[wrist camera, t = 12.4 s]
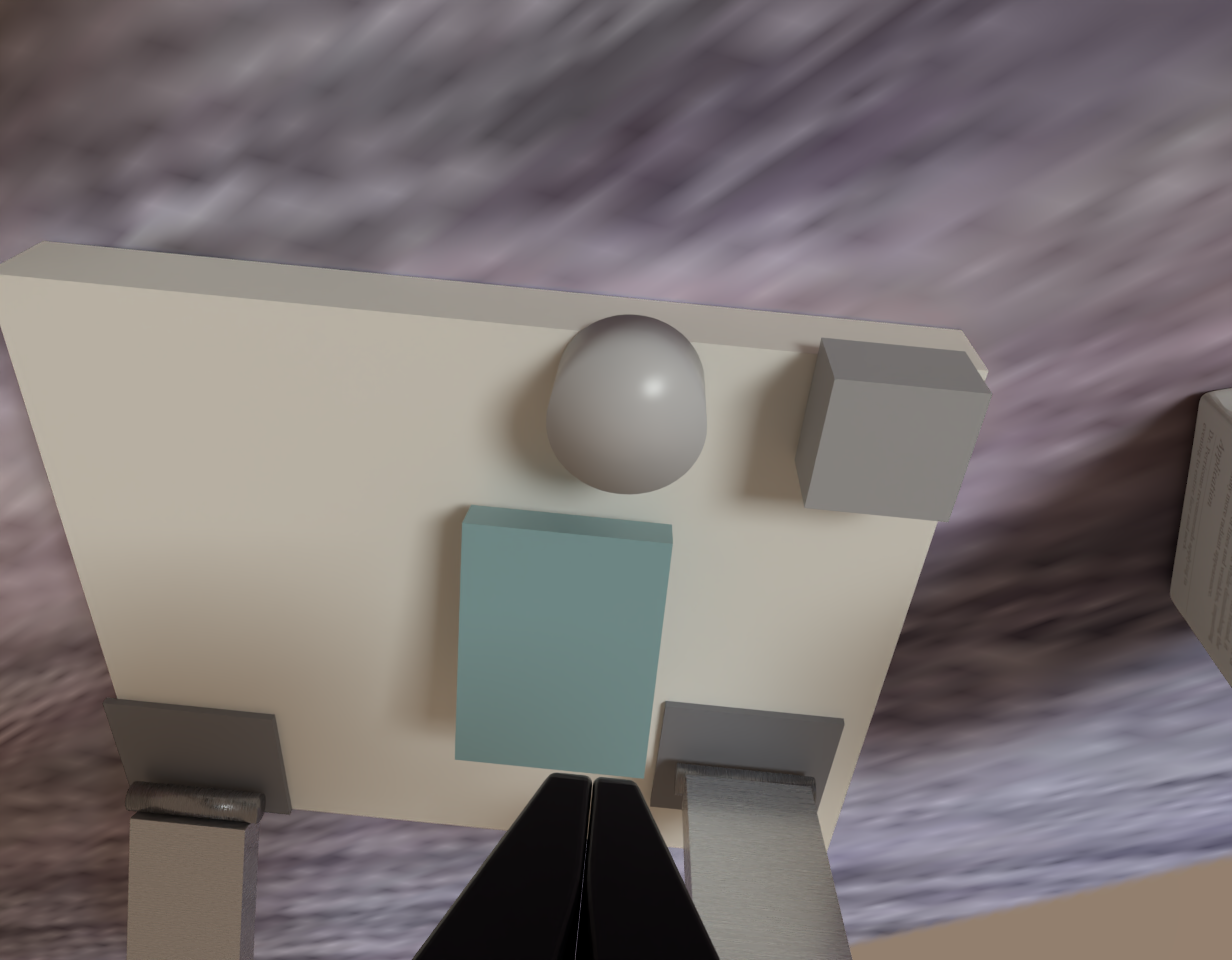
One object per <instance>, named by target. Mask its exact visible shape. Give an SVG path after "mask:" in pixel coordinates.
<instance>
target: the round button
mask: <svg viewBox="0 0 1232 960" xmlns="http://www.w3.org/2000/svg"><path fill="white" fill-rule="evenodd" d="M546 430H547V435H548V440H549V442H550V445H551V448H552V450H553V452H554V454H555V456H556V457H557V459H558V460H559V462H560V463H561V464H562V465H563V466H564V467H565V469H566V470H567V471H569V472H570V473H571V474H572V475H573V476H574V477H576V478H577V479H579V480H580V481H582V482H583V483H585V484H587V485H589V486H591V487H594V488H596V489H599V490H602V491H605V492H609V493H615V494H627V495H631V494H642V493H648V492H652V491H655V490H659V489H661V488H663V487H666V486H668V485H670V484H671V483H673V482H675V481H677V480H678V479H679V478H681V477H682V476H683V475H684V474H685V473H686V472H687V471H688V470H689V469H690V468H691V467H692V466H693V465H694V463H695V462H696V461H697V459H698V457H699V455H700V454H701V452H702V449H703V446H704V444H705V439H706V435H707V414H706V395H705V378H704V371H703V366H702V363H701V360H700V358H699V355H698V354H697V352H696V350H695V348H694V347H693V346H692V344H691V343H690V342H689V340H688V339H687V338H686V337H685V336H684V335H683V334H682V333H680V332H679V331H678V330H676V329H675V328H674V327H672V326H670V325H669V324H667V323H665V322H663V321H660V320H658V319H655V318H651V317H648V316H642V315H632V314H625V315H616V316H611V317H607V318H604V319H601V320H598V321H596V322H594V323H592V324H590V325H589V326H587V327H586V328H584V329H583V330H581V331H580V332H579V333H578V334H577V335H576V336H575V337H574V338H573V339H572V340H571V342H570V343H569V344H568V346H567V347H566V349H565V350H564V352H563V355H562V357H561V359H560V363H559V366H558V370H557V374H556V378H555V382H554V385H553V389H552V393H551V397H550V401H549V405H548V409H547V415H546Z"/></svg>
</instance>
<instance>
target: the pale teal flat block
mask: <svg viewBox="0 0 1232 960" xmlns="http://www.w3.org/2000/svg"><path fill="white" fill-rule="evenodd" d="M672 547H673V535H672V525H671V524H661V523H651V522H640V521H630V520H620V519H610V518H600V517H590V516H580V515H570V514H559V513H549V512H539V511H529V510H519V509H509V508H499V507H489V506H478V505H471V506H470V508H469V510H468V512H467V514H466V516H465V518H464V520H463V522H462V543H461V575H460V606H459V638H458V670H457V702H456V734H455V760H463V761H473V762H483V763H493V764H503V765H513V766H522V767H532V768H542V769H552V770H562V771H572V772H582V773H592V774H602V775H612V776H622V777H632V778H642V779H644V773H645V765H646V757H647V749H648V741H649V733H650V725H651V717H652V709H653V701H654V693H655V684H656V676H657V668H658V660H659V652H660V644H661V636H662V628H663V620H664V612H665V604H666V595H667V587H668V579H669V571H670V563H671V555H672Z"/></svg>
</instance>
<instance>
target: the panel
mask: <svg viewBox="0 0 1232 960" xmlns="http://www.w3.org/2000/svg"><path fill="white" fill-rule="evenodd" d="M625 314H632V315H642V316H648V317H651V318H655V319H658V320H660V321H663V322H665V323H667V324H669V325H670V326H672V327H674V328H675V329H676V330H678V331H679V332H680V333H682V334H683V335H684V336H685V337H686V338H687V339H688V340H689V342H690V343H691V344H692V346H693V347H694V348H695V350H696V352H697V354H698V355H699V358H700V360H701V363H702V366H703V371H704V378H705V395H706V414H707V435H706V439H705V444H704V446H703V449H702V452H701V454H700V455H699V457H698V459H697V461H696V462H695V463H694V465H693V466H692V467H691V468H690V469H689V470H688V471H687V472H686V473H685V474H684V475H683V476H682V477H681V478H679V479H678V480H677V481H675V482H673V483H671V484H670V485H668V486H666V487H663V488H661V489H659V490H655V491H652V492H648V493H642V494H631V495H627V494H615V493H609V492H605V491H602V490H599V489H596V488H594V487H591V486H589V485H587V484H585V483H583V482H582V481H580V480H579V479H577V478H576V477H574V476H573V475H572V474H571V473H570V472H569V471H567V470H566V469H565V467H564V466H563V465H562V464H561V463H560V462H559V460H558V459H557V457H556V456H555V454H554V452H553V450H552V448H551V445H550V442H549V440H548V435H547V430H546V415H547V409H548V405H549V401H550V397H551V393H552V389H553V385H554V382H555V378H556V374H557V370H558V366H559V363H560V359H561V357H562V355H563V352H564V350H565V349H566V347H567V346H568V344H569V343H570V342H571V340H572V339H573V338H574V337H575V336H576V335H577V334H578V333H579V332H580V331H581V330H583V329H584V328H586V327H587V326H589V325H590V324H592V323H594V322H596V321H598V320H601V319H604V318H607V317H611V316H616V315H625ZM0 326H1V329H2V332H3V336H4V339H5V342H6V345H7V348H8V352H9V355H10V358H11V361H12V364H13V367H14V371H15V374H16V377H17V380H18V383H19V387H20V390H21V393H22V396H23V399H24V403H25V406H26V409H27V412H28V415H29V418H30V422H31V425H32V428H33V431H34V434H35V438H36V441H37V444H38V447H39V450H40V454H41V457H42V460H43V463H44V466H45V470H46V473H47V476H48V479H49V482H50V485H51V489H52V492H53V495H54V498H55V501H56V505H57V508H58V511H59V514H60V517H61V521H62V524H63V527H64V530H65V533H66V536H67V540H68V543H69V546H70V549H71V552H72V556H73V559H74V562H75V565H76V568H77V572H78V575H79V578H80V581H81V584H82V587H83V591H84V594H85V597H86V600H87V603H88V607H89V610H90V613H91V616H92V619H93V623H94V626H95V629H96V632H97V635H98V639H99V642H100V645H101V648H102V651H103V654H104V658H105V661H106V664H107V667H108V670H109V674H110V677H111V680H112V683H113V686H114V690H115V693H116V696H117V699H116V698H106V699H105V700H104V702H103V706H104V709H105V712H106V716H107V719H108V722H109V725H110V728H111V731H112V734H113V737H114V740H115V743H116V746H117V749H118V752H119V755H120V758H121V761H122V764H123V767H124V770H125V774H126V777H127V780H128V783H129V786H131V784H132V783H133V782H134V781H145V782H155V783H165V784H175V785H185V786H195V787H204V788H214V789H224V790H234V791H244V792H254V793H264V794H265V796H266V805H265V810H264V812H269V813H278V814H288V815H290V813H291V810H292V809H298V810H308V811H318V812H328V813H338V814H348V815H358V816H368V817H378V818H388V819H397V820H407V821H417V822H427V823H437V824H447V825H457V826H467V827H477V828H487V829H497V830H506V831H507V830H508V829H509V828H510V826H511V825H512V824H513V822H514V821H515V820H516V818H517V817H518V816H519V814H520V813H521V811H522V810H523V809H524V807H525V806H526V805H527V803H528V802H529V801H530V799H531V798H532V797H533V795H534V794H535V793H536V791H537V790H538V789H539V787H540V786H541V784H542V783H543V782H544V780H545V779H546V778H547V777H548V776H549V775H550V774H552V773H557V772H558V773H568V774H577V775H586V776H588V777H589V778H591V780H592V788H593V783H594V781H595V779H597V778H599V777H607V778H616V779H626V780H632V781H634V782H635V783H637V785H638V787H639V788H640V790H641V792H642V794H643V796H644V798H645V801H646V803H647V805H648V807H649V809H650V811H651V813H652V815H653V818H654V820H655V822H656V824H657V826H658V828H659V830H660V833H661V835H662V837H663V839H664V841H665V843H666V845H667V847H675V848H683V823H682V801H683V796H680V795H675V794H674V782H675V770H676V764H677V763H682V764H692V765H701V766H711V767H721V768H731V769H741V770H751V771H761V772H771V773H781V774H791V775H801V776H811V777H814V778H815V781H816V802H815V806H816V811H817V815H818V819H819V823H820V827H821V831H822V836H823V840H824V844H825V848H826V852H827V850H828V847H829V844H830V841H831V838H832V835H833V832H834V829H835V826H836V823H837V820H838V817H839V814H840V811H841V808H842V805H843V802H844V799H845V796H846V793H847V790H848V787H849V784H850V781H851V778H852V775H853V772H854V769H855V766H856V763H857V760H858V757H859V754H860V751H861V748H862V745H863V743H864V740H865V737H866V734H867V731H868V728H869V725H870V722H871V719H872V716H873V713H874V710H875V707H876V704H877V701H878V698H879V695H880V692H881V689H882V686H883V683H884V680H885V677H886V674H887V671H888V668H889V665H890V662H891V659H892V656H893V653H894V650H895V647H896V644H897V641H898V638H899V635H900V632H901V629H902V626H903V623H904V620H905V617H906V614H907V612H908V609H909V606H910V603H911V600H912V597H913V594H914V591H915V588H916V585H917V582H918V579H919V576H920V573H921V570H922V567H923V564H924V561H925V558H926V555H927V552H928V549H929V546H930V543H931V540H932V537H933V534H934V531H935V528H936V525H937V522H938V521H931V520H920V519H910V518H900V517H890V516H880V515H870V514H860V513H849V512H839V511H829V510H819V509H809V508H804V503H803V498H802V494H801V489H800V484H799V479H798V474H797V470H796V465H795V455H796V451H797V446H798V442H799V437H800V432H801V428H802V423H803V419H804V414H805V410H806V405H807V401H808V396H809V391H810V387H811V382H812V378H813V373H814V369H815V364H816V360H817V355H818V351H819V346H820V341H821V337H822V338H832V339H842V340H852V341H863V342H873V343H883V344H893V345H904V346H914V347H924V348H935V349H945V350H955V351H965V352H966V354H967V355H968V357H969V358H970V360H971V361H972V363H973V365H974V366H975V368H976V369H977V371H978V372H979V374H980V376H981V377H982V379H983V380H984V382H985V379H986V376H987V373H988V370H987V368H986V367H985V365H984V363H983V362H982V360H981V359H980V357H979V356H978V354H977V353H976V351H975V350H974V348H973V347H972V345H971V344H970V342H969V341H968V339H967V338H966V336H965V335H964V333H963V332H962V330H954V329H943V328H933V327H923V326H912V325H902V324H892V323H882V322H871V321H861V320H851V319H840V318H830V317H820V316H810V315H799V314H789V313H779V312H768V311H758V310H748V309H737V308H727V307H717V306H707V305H696V304H686V303H676V302H665V301H655V300H645V299H635V298H624V297H614V296H604V295H593V294H583V293H573V292H563V291H552V290H542V289H532V288H521V287H511V286H501V285H491V284H480V283H470V282H460V281H449V280H439V279H429V278H419V277H408V276H398V275H388V274H377V273H367V272H357V271H347V270H336V269H326V268H316V267H305V266H295V265H285V264H275V263H264V262H254V261H244V260H233V259H223V258H213V257H203V256H192V255H182V254H172V253H161V252H151V251H141V250H131V249H120V248H110V247H100V246H89V245H79V244H69V243H59V242H48V241H43V242H41V243H39V244H37V245H35V246H33V247H31V248H29V249H28V250H26V251H24V252H22V253H20V254H18V255H16V256H15V257H13V258H11V259H9V260H7V261H5V262H3V263H1V264H0ZM471 505H478V506H489V507H499V508H509V509H519V510H529V511H539V512H549V513H559V514H570V515H580V516H590V517H600V518H610V519H620V520H630V521H640V522H651V523H661V524H671V525H672V535H673V547H672V555H671V563H670V571H669V579H668V587H667V595H666V604H665V612H664V620H663V628H662V636H661V644H660V652H659V660H658V668H657V676H656V684H655V693H654V701H653V709H652V717H651V725H650V733H649V741H648V749H647V757H646V765H645V773H644V779H642V778H632V777H622V776H612V775H602V774H592V773H582V772H572V771H562V770H552V769H542V768H532V767H522V766H513V765H503V764H493V763H483V762H473V761H463V760H455V734H456V702H457V670H458V638H459V606H460V575H461V543H462V522H463V520H464V518H465V516H466V514H467V512H468V510H469V508H470V506H471ZM591 798H592V793H591ZM590 808H591V803H590ZM589 818H590V813H589ZM588 828H589V824H588ZM587 838H588V834H587Z"/></svg>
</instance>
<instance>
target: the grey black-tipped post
mask: <svg viewBox="0 0 1232 960" xmlns="http://www.w3.org/2000/svg"><path fill="white" fill-rule="evenodd" d="M674 794H675V795H680V796H683V801H682V823H683V848H684V873H685V886H686V888H687V890H688V892H689V894H690V896H691V898H692V901H693V903H694V905H695V907H696V909H697V911H698V913H699V916H700V918H701V920H702V922H703V924H704V926H705V928H706V930H707V933H708V935H709V937H710V939H711V941H712V943H713V945H714V947H715V950H716V952H717V954H718V956H719V958H720V960H852V957H851V953H850V948H849V944H848V940H847V936H846V931H845V927H844V923H843V919H842V915H841V911H840V906H839V902H838V898H837V894H836V890H835V886H834V881H833V877H832V873H831V869H830V865H829V861H828V856H827V852H826V848H825V844H824V840H823V836H822V831H821V827H820V823H819V819H818V815H817V811H816V806H815V802H816V781H815V778H814V777H811V776H801V775H791V774H781V773H771V772H761V771H751V770H741V769H731V768H721V767H711V766H701V765H692V764H682V763H677V764H676V770H675V782H674Z"/></svg>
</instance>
